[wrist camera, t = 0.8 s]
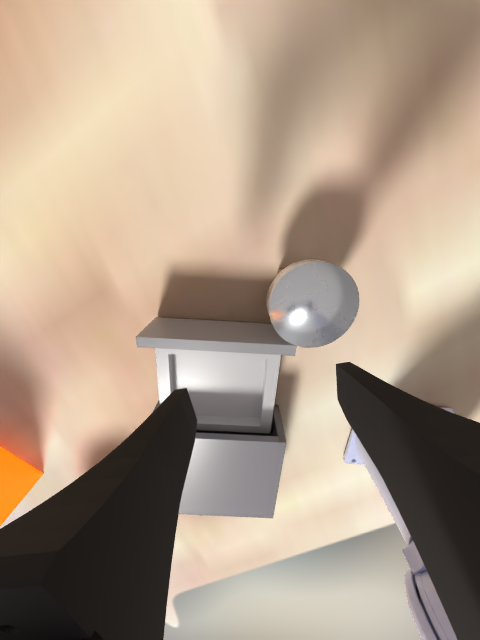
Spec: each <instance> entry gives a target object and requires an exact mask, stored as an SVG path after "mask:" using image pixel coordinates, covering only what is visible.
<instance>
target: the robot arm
mask: <svg viewBox="0 0 480 640" xmlns="http://www.w3.org/2000/svg"><path fill="white" fill-rule="evenodd" d="M336 376H337V396H338V401H339V403H340V406H341V408H342V410H343V412H344V414H345V417H346V419H347V421H348V422H349V424H350V426H351V427H352V431H351V434H350V437H349V441H348V444H347V447H346V450H345V454H344V457H343V459H344V462H345V463H347V464H364V465H365V467H366V469H367V470H368V472H369V474H370V476H371V478H372V480H373V482H374V484H375V485H376V487H377V489H378V491H379V493H380V495H381V497H382V498H383V500H384V502H385V504H386V506H387V508H388V510H389V511H390V513H391V515H392V517H393V519H394V521H395V523H396V525H397V526H398V528H399V530H400V532H401V534H402V536H403V537H404V539H405V541H406V543H407V545H408V547H406V548H404V549H403V550H402V552H403V554H404V556H405V558H406V560H407V562H408V564H409V566H410V568H411V569H409V570H407V571H406V573H405V585H406V595H407V600H408V605H409V608H410V611H411V614H412V617H413V619H414V622H415V624H416V627H417V629H418V632H419V634H420V636H421V638H422V640H480V423H479V422H476V421H473V420H470V419H467V418H465V417H462V416H459V415H457V414H455V411H453V410H452V409H451V408H444V407H437V406H434V405H432V404H429V403H427V402H425V401H423V400H421V399H418V398H416V397H414V396H412V395H410V394H408V393H406V392H404V391H402V390H400V389H398V388H396V387H394V386H392V385H390V384H388V383H386V382H385V381H383V380H381V379H379V378H377V377H375V376H374V375H372V374H370V373H368V372H367V371H365V370H363V369H361V368H360V367H358V366H356V365H354V364H352V363H350V362H346V363H339V364H336ZM196 428H197V417H196V414H195V411H194V408H193V405H192V402H191V399H190V396H189V393H188V390H187V388H182V389H176V390H174V391H173V392H172V393H171V394H170V395H169V396H168V397H167V398H166V399H165V400H164V401H163V402H162V403H161V404H160V405H159V407H158V408H157V409H156V410H155V411H154V412H153V413H152V414H151V415H150V416H149V417H148V418H147V419H146V420H145V421H144V422H143V423H142V424H141V425H140V426H139V427H138V428H137V429H136V430H135V431H134V432H133V433H132V434H131V435H130V436H129V437H128V438H127V439H126V440H125V441H124V442H122V443H121V444H120V445H119V446H118V447H117V448H116V449H115V450H113V451H112V452H111V453H110V454H109V455H107V456H106V457H105V458H104V459H103V460H101V461H100V462H99V463H98V464H96V465H95V466H94V467H92V468H91V469H90V470H88V471H87V472H86V473H84V474H83V475H82V476H80V477H79V478H78V479H77V480H75V481H74V482H72V483H71V484H70V485H68V486H67V487H65V488H64V489H62V490H61V491H60V492H58V493H57V494H55V495H54V496H52V497H51V498H49V499H48V500H46V501H45V502H43V503H42V504H40V505H39V506H37V507H35V508H34V509H32V510H31V511H29V512H27V513H26V514H24V515H23V516H21V517H19V518H18V519H16V520H14V521H13V522H11V523H9V524H8V525H6V526H4V527H3V528H1V529H0V640H163V637H164V626H165V616H166V605H167V596H168V588H169V579H170V571H171V562H172V555H173V548H174V540H175V533H176V526H177V520H178V513H179V507H180V502H181V497H182V492H183V488H184V484H185V480H186V476H187V472H188V468H189V464H190V460H191V456H192V451H193V447H194V443H195V437H196Z"/></svg>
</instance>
